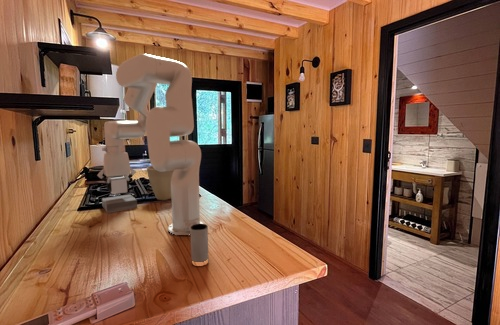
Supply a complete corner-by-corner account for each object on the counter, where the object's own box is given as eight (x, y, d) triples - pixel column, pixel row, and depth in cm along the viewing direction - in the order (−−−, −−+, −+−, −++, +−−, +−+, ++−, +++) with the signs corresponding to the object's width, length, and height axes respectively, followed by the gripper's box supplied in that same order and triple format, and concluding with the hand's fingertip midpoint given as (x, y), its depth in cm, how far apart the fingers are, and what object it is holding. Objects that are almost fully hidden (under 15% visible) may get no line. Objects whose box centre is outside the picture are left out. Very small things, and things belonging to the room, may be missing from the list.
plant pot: (147, 196, 139) (145, 165, 137) (176, 192, 146) (175, 163, 143) (149, 203, 126) (147, 170, 124) (182, 200, 132) (180, 168, 130)
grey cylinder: (192, 268, 71) (191, 230, 69) (190, 259, 75) (189, 224, 73) (209, 265, 72) (208, 228, 70) (207, 257, 76) (206, 222, 75)
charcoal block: (137, 208, 120) (136, 199, 120) (107, 214, 113) (106, 204, 113) (130, 202, 130) (129, 194, 129) (102, 207, 123) (101, 198, 122)
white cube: (127, 192, 120) (126, 178, 119) (112, 194, 116) (111, 180, 116) (124, 189, 125) (123, 176, 124) (109, 191, 121) (108, 178, 120)
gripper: (94, 152, 110) (97, 195, 112) (138, 149, 120) (140, 189, 123) (91, 150, 115) (95, 191, 118) (134, 148, 126) (136, 185, 129)
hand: (118, 189), depth 120 cm, fingers closed on white cube, 6 cm apart
